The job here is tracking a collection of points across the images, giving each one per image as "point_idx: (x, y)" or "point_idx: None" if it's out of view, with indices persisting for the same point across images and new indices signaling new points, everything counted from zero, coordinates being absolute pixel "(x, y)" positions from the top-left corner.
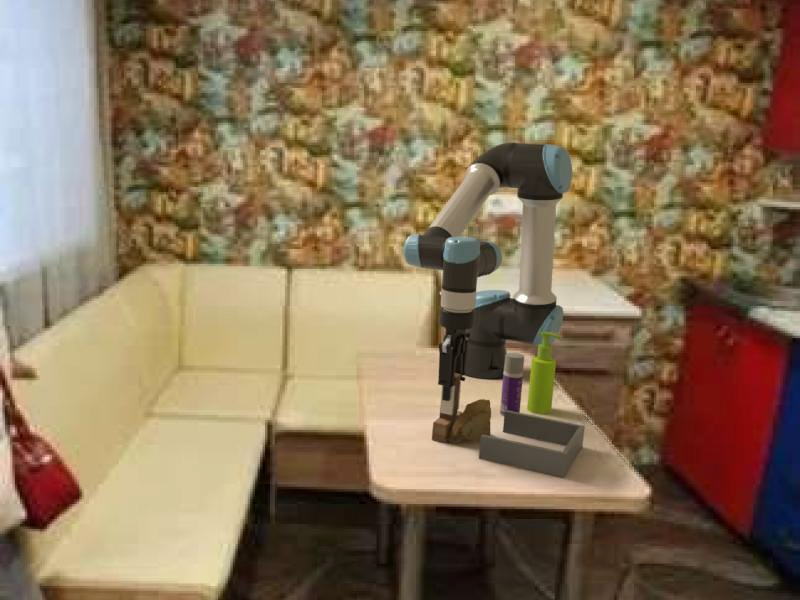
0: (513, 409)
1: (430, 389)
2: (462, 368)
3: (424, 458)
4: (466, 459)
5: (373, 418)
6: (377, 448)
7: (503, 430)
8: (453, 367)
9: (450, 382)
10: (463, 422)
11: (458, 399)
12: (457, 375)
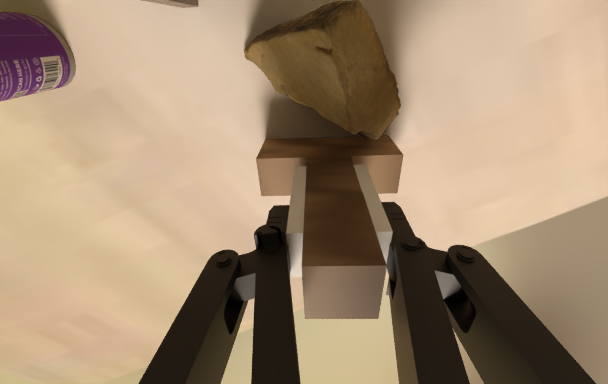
0: (26, 28)
1: (102, 279)
2: (256, 292)
3: (513, 136)
4: (489, 25)
5: None
6: (480, 237)
7: (196, 3)
8: (456, 345)
9: (456, 260)
10: (393, 106)
11: (304, 185)
12: (338, 272)
